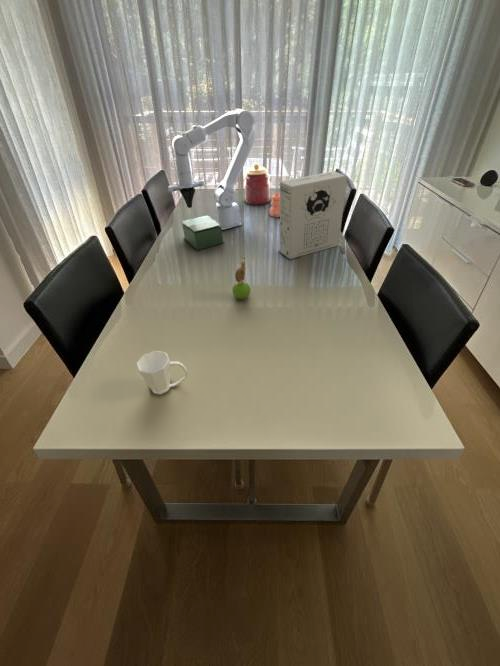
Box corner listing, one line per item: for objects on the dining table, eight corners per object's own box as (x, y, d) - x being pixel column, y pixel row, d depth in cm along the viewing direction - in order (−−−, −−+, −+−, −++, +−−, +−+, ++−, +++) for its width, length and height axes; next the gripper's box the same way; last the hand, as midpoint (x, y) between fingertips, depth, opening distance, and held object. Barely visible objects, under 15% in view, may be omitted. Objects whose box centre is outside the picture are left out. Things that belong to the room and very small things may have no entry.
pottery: (306, 208, 161) (307, 187, 155) (310, 215, 154) (311, 193, 147) (268, 211, 160) (268, 190, 154) (271, 218, 153) (270, 196, 147)
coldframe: (184, 238, 141) (181, 221, 136) (209, 232, 145) (207, 215, 140) (197, 250, 132) (194, 231, 127) (222, 242, 136) (221, 224, 131)
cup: (147, 377, 79) (138, 352, 74) (190, 372, 79) (184, 347, 74) (143, 401, 73) (133, 375, 68) (189, 395, 74) (182, 369, 69)
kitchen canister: (243, 205, 170) (240, 167, 158) (247, 196, 179) (245, 160, 168) (268, 205, 168) (268, 166, 156) (271, 196, 177) (271, 160, 166)
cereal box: (327, 238, 133) (333, 170, 118) (339, 245, 128) (347, 175, 112) (279, 251, 127) (279, 181, 111) (289, 259, 121) (291, 186, 106)
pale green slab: (182, 222, 136) (181, 221, 136) (207, 216, 140) (207, 215, 140) (188, 227, 132) (187, 226, 132) (213, 221, 136) (213, 220, 136)
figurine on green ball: (254, 292, 105) (252, 257, 98) (247, 303, 101) (245, 267, 93) (238, 290, 107) (235, 255, 99) (230, 301, 102) (226, 265, 95)
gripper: (170, 176, 126) (176, 213, 134) (205, 170, 131) (209, 206, 140) (163, 173, 131) (170, 208, 139) (198, 167, 136) (202, 201, 145)
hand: (189, 207), depth 140 cm, fingers closed
